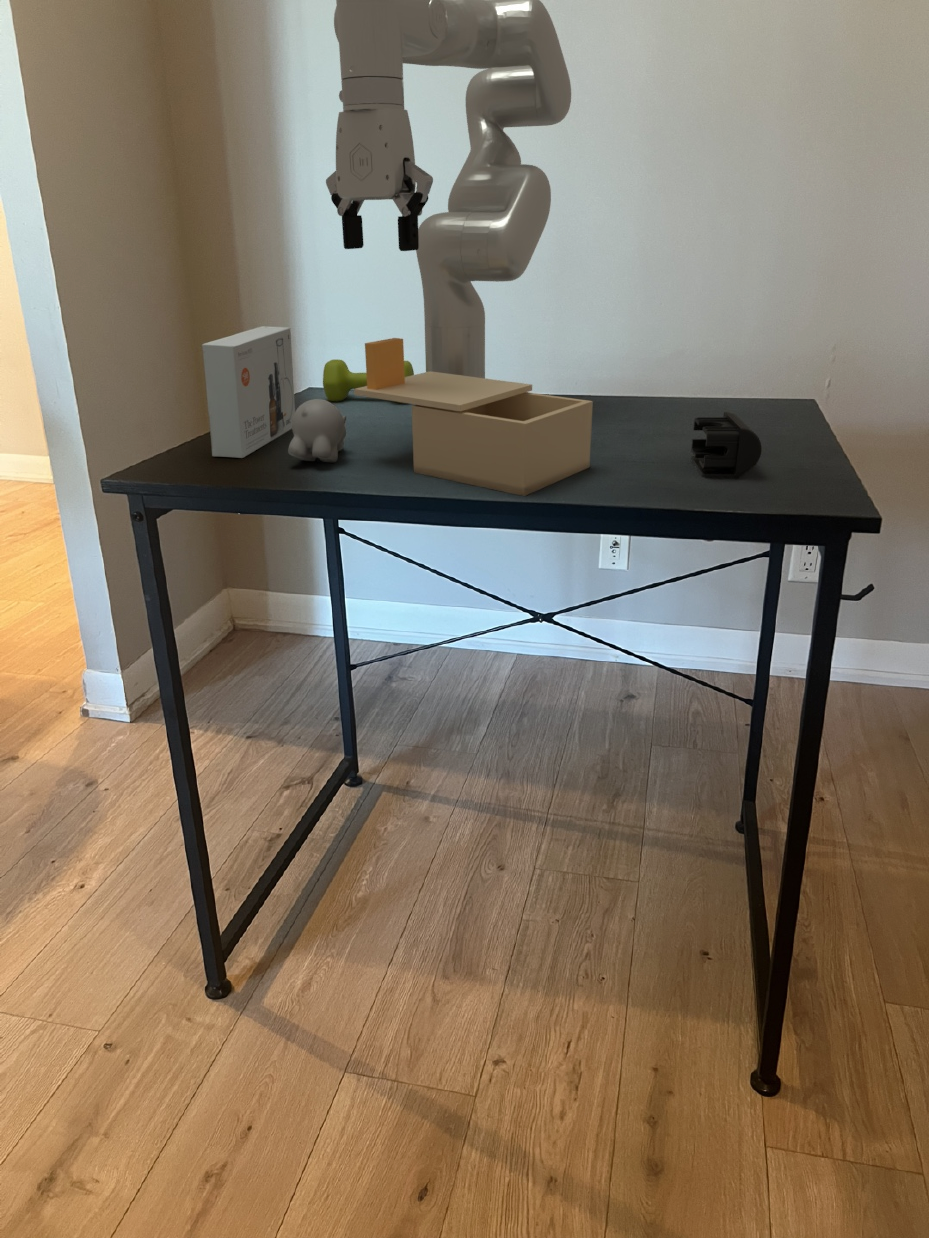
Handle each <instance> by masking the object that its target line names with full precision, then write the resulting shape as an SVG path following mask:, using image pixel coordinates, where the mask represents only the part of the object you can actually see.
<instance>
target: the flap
mask: <svg viewBox="0 0 929 1238" xmlns="http://www.w3.org/2000/svg"><path fill="white" fill-rule="evenodd" d="M404 348H405V347H404V338H399V337H392V338H386V339H381V340H380V339H379V340H376V341H370V342H365V343H364V355H365V368H366V369H365V373H366V374H367V386H364V387H360V388H356V389H353V395H354V396H361V397H365V398H366V397H367V398H372V399H377V400H384V401H391V402H394V401H397V402H403V403H402V404H409V405H422V406H428V407H435V408H441V409H447V410H453V411H464V410H467V409H471V408H474V407H477V406H481V405H484V404H488V403H491V402H494V401H498V400H501V399H505V398H508V397H512V396H515V395H518V394H522V393H525V392H529V393H530V392H532V391H533V384H531V383H530V384H529V383H524V382H517V381H516V382H515V381H506V380H500V379H499V380H498V379H492V378H486V377H485V378H477V377H470V376H462V375H454V374H447V373H439V372H431V371H429V372H426V371H425V372H422V373H417V374H414V375H412V376H408V377H405V374H404V361H405V354H404V353H405V350H404Z"/></svg>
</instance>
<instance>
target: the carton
mask: <svg viewBox="0 0 929 1238" xmlns="http://www.w3.org/2000/svg"><path fill="white" fill-rule="evenodd" d="M593 403H594V401H592V400H588V399H587V400H586V399H580V398H579V399H578V398H571V397H564V396H556V395H549V394H543V393H536V392H530V391H529V392H525V393H522V394H518V395H515V396H512V397H508V398H505V399H501V400H498V401H494V402H491V403H488V404H484V405H481V406H477V407H474V408H471V409H467V410H464V411H453V410H447V409H441V408H435V407H428V406H422V405H416V404H412V405H411V424H412V426H411V427H412V454H413V458H412V459H413V473H415V474H420V475H425V476H428V477H433V478H436V479H437V478H438V479H443V480H448V481H452V482H456V483H462V484H467V485H471V486H476V487H481V488H483V489H484V488H485V489H490V490H493V491H494V490H495V491H499V492H503V493H508V494H513V495H517V496H521V497H522V496H523V497H525V496H527V495H530V494H532V493H535V492H537V491H538V490H541V489H543V488H545V487H549V486H550V485H553V484H555V483H557V482H560V481H562V480H564V479H566V478H568V477H570V476H573V475H575V474H577V473H579V472H582V471H584V470H586V469H588V468H590V462H591V444H592V443H591V442H592V424H593Z"/></svg>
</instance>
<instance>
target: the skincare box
mask: <svg viewBox="0 0 929 1238" xmlns="http://www.w3.org/2000/svg"><path fill="white" fill-rule="evenodd" d="M291 331H292V330H291V327H286V326H267V325H265V326H264V325H263V326H262V325H261V326H257V327H256V328H251V329H248V330H245V331H242V332H241V331H240V332H238V333H235V334H233V335H230V336H226V337H222V338H219V339H216V340H211V341H209V342H204V343H203V344H201V350H202V358H203V359H202V360H203V368H204V378H205V379H204V380H205V390H206V401H207V411H208V422H209V432H210V433H209V434H210V444H211V445H210V446H211V456H212V457H223V458H238V459H243V458H245V457H247V456H249V455H250V454H253V453H254V452H255V451H256V450H258V449H260V448H262V447H263V446H265V445H267V444H269V443H270V442H272V441H274V440H275V439H277V438H279V437H281V436H282V435H285V434H286V433H287V432H289V431H291V430H292V419H293V415H294V413H295V411H296V403H295V388H294V387H295V386H294V372H293V371H294V370H293V366H294V365H293V351H292V335H291Z"/></svg>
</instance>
